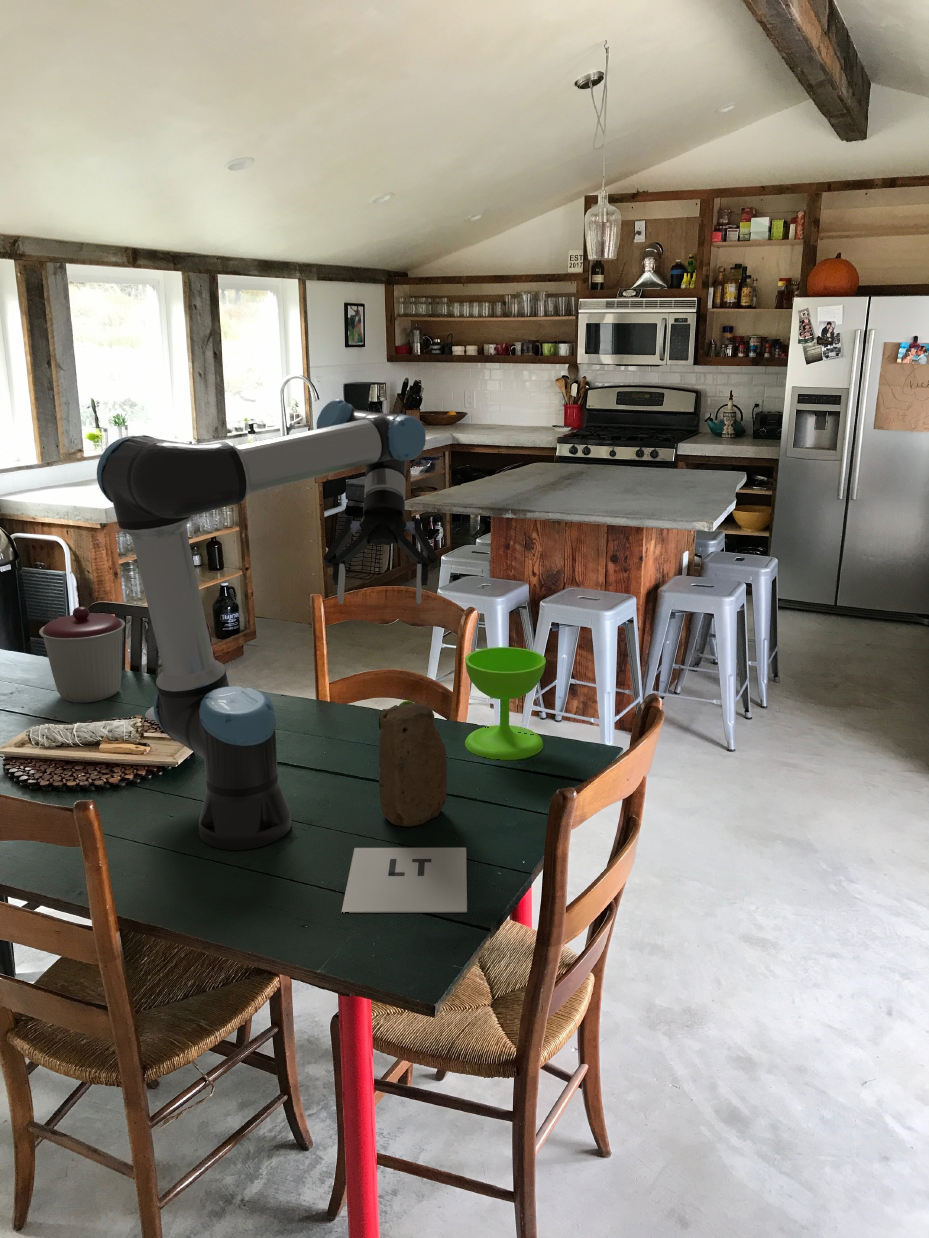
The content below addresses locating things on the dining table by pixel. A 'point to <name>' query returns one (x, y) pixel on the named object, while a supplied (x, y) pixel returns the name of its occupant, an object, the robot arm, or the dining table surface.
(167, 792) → the dining table surface
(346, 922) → the dining table surface
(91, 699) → the canister
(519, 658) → the wineglass
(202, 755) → the robot arm
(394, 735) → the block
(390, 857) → the tile
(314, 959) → the dining table surface
